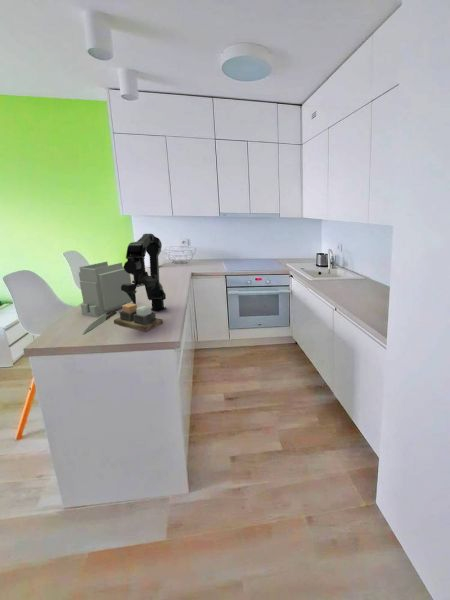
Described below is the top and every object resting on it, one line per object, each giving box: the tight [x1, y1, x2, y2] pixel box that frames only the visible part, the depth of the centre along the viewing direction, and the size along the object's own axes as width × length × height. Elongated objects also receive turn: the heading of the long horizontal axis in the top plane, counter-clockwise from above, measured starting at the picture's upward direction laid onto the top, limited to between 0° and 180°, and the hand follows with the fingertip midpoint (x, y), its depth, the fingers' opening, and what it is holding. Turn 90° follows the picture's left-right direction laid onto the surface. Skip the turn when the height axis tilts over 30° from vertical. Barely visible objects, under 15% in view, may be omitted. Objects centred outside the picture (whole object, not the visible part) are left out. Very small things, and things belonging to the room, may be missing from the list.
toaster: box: [78, 261, 133, 318], centre depth 166 cm, size 17×27×26 cm, turn 153°
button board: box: [113, 310, 164, 333], centre depth 145 cm, size 12×22×6 cm, turn 59°
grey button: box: [136, 305, 152, 317], centre depth 141 cm, size 5×5×4 cm
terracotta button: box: [121, 302, 138, 313], centre depth 146 cm, size 5×5×4 cm
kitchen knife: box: [82, 311, 118, 336], centre depth 147 cm, size 4×1×30 cm
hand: (142, 301), depth 139 cm, fingers open, 9 cm apart
